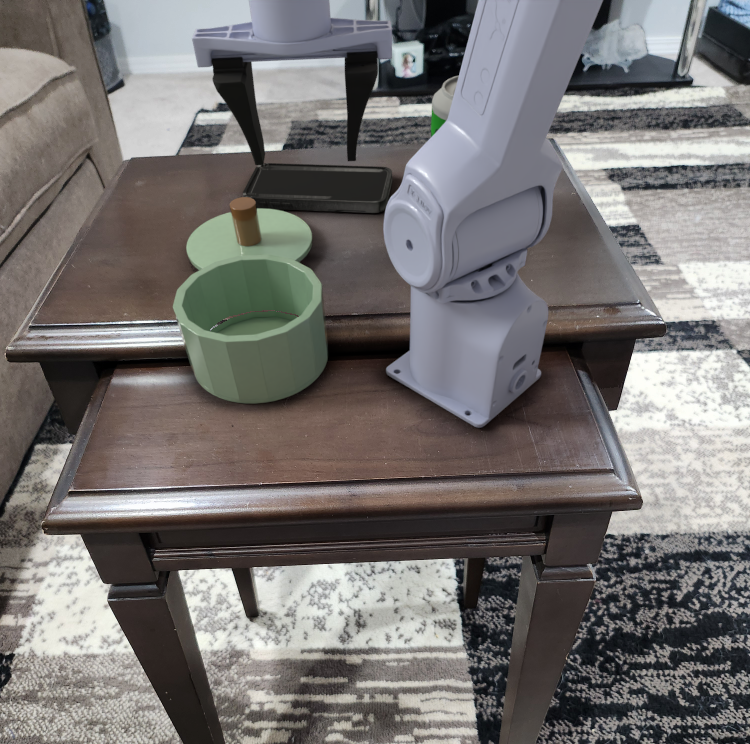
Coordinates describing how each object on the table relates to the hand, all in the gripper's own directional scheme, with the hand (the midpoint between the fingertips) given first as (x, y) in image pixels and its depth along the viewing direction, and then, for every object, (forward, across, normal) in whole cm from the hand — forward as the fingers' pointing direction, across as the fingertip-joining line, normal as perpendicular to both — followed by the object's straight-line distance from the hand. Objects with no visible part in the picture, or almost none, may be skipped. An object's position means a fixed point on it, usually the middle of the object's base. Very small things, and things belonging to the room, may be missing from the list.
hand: (305, 157), depth 56 cm
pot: (+9, +4, +14) cm, 17 cm away
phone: (+9, 0, -13) cm, 16 cm away
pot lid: (+9, +6, -2) cm, 11 cm away
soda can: (+10, -15, -6) cm, 19 cm away
